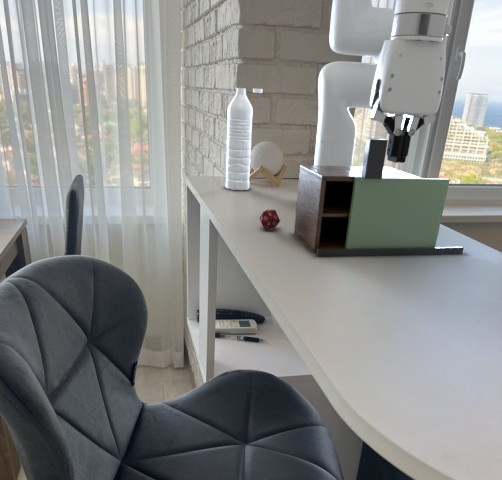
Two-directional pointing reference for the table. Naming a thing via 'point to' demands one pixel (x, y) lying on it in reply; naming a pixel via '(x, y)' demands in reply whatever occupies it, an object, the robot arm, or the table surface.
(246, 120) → the water bottle
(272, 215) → the dice
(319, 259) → the table surface
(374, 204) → the sliding door
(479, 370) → the table surface
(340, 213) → the cabinet
